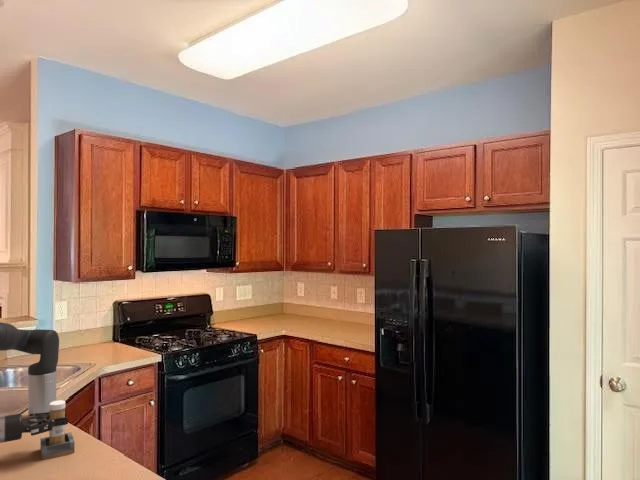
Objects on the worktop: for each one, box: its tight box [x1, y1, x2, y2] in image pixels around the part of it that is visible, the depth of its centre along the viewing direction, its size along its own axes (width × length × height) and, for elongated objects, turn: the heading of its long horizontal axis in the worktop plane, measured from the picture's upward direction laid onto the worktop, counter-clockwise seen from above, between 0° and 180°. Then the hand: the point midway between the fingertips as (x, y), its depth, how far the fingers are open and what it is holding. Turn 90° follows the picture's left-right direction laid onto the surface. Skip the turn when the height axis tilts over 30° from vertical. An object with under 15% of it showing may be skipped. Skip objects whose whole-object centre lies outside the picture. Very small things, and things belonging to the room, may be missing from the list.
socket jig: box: [39, 432, 76, 460], centre depth 151 cm, size 9×9×4 cm
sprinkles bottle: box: [48, 399, 66, 445], centre depth 151 cm, size 5×5×14 cm
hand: (66, 418), depth 153 cm, fingers closed on sprinkles bottle, 4 cm apart
